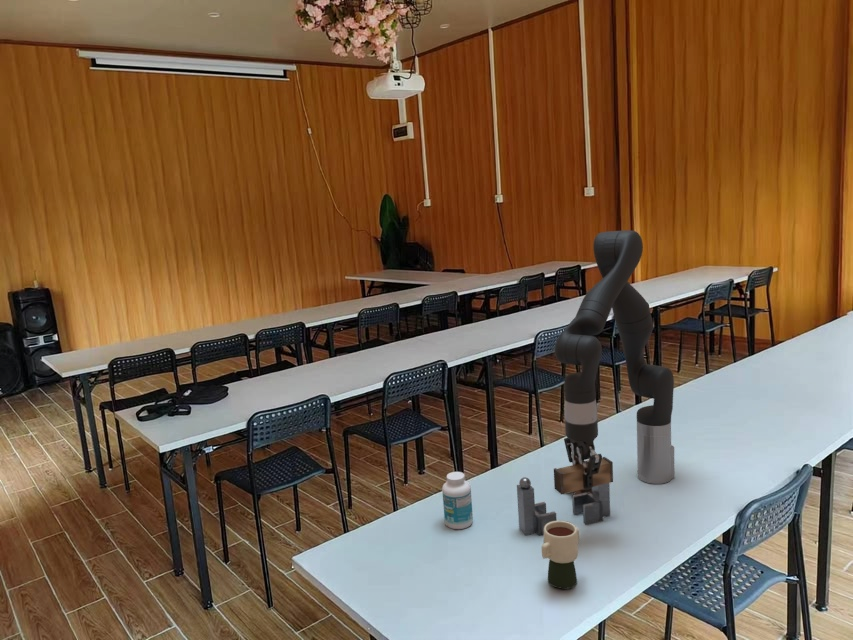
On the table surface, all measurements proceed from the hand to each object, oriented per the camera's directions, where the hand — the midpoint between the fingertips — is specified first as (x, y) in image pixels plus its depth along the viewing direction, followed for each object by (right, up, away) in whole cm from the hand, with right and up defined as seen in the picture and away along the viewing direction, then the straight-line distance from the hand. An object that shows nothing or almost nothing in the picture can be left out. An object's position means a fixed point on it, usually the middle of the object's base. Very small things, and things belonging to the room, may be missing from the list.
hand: (583, 484), depth 159 cm
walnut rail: (0, 0, 0) cm, 0 cm away
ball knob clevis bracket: (-2, -12, +10) cm, 16 cm away
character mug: (-8, -18, -15) cm, 25 cm away
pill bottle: (-29, -14, +14) cm, 35 cm away
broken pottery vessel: (+4, -9, +25) cm, 27 cm away
